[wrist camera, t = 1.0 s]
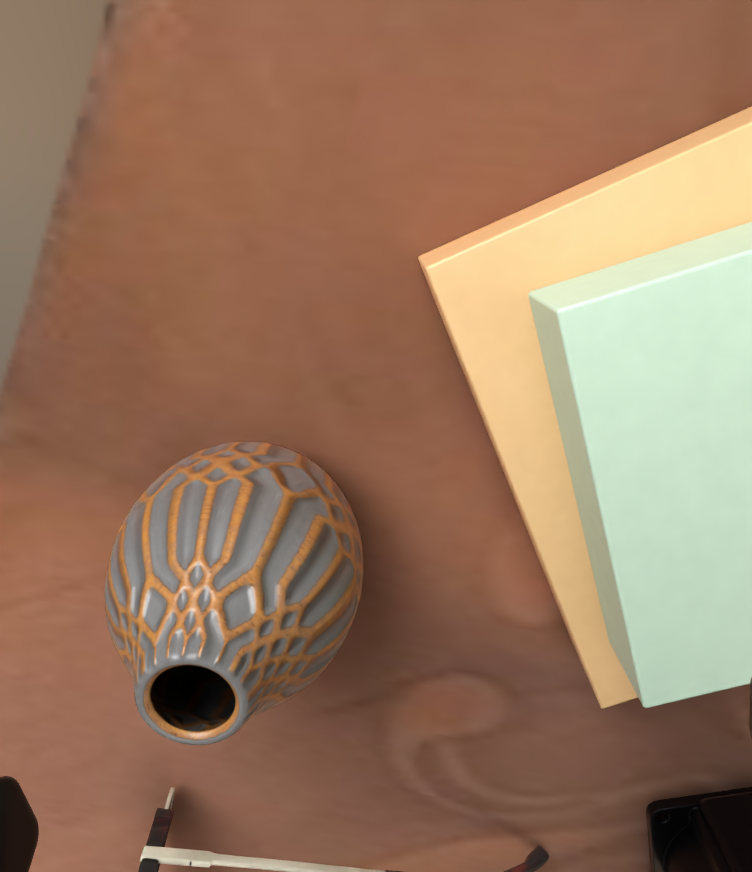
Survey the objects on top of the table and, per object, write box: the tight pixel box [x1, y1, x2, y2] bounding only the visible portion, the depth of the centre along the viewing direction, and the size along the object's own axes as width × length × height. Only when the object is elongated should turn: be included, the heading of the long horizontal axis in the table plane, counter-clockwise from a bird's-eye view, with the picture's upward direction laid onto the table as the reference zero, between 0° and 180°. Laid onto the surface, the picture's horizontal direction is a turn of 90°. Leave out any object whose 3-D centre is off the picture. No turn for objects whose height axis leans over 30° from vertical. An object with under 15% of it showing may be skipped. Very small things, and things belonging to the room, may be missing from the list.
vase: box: [105, 441, 363, 745], centre depth 17 cm, size 7×7×9 cm
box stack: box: [418, 107, 752, 708], centre depth 17 cm, size 15×12×6 cm
